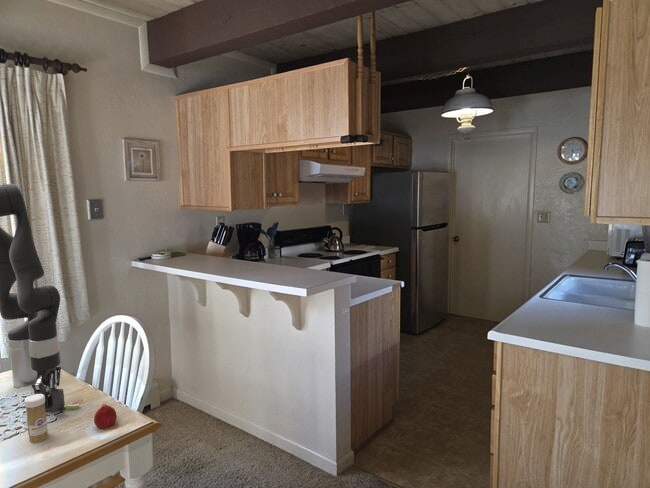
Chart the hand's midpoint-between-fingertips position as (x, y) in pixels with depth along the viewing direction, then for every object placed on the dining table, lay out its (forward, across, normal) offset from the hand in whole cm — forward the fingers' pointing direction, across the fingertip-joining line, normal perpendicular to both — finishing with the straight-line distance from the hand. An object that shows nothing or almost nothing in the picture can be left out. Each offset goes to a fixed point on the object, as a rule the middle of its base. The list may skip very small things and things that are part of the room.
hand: (50, 405), depth 133 cm
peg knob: (+2, 0, +2) cm, 3 cm away
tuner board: (+3, +1, +3) cm, 4 cm away
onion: (+3, +12, +20) cm, 23 cm away
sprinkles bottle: (+3, +16, +4) cm, 17 cm away
